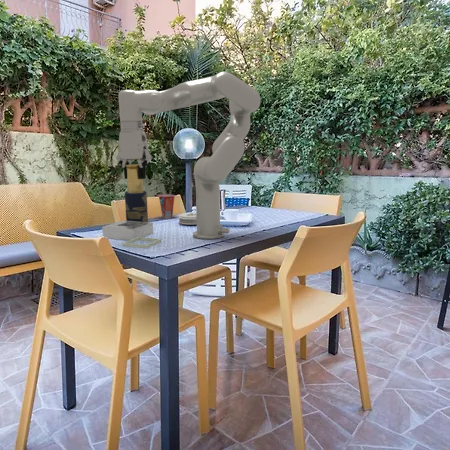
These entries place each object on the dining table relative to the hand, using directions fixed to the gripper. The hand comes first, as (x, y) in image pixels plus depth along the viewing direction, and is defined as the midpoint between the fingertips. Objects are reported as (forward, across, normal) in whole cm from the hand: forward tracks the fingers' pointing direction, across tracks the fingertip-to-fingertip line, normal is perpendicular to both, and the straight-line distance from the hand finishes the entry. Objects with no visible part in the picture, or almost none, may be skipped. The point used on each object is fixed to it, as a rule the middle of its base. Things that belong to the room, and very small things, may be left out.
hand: (135, 178), depth 128 cm
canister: (+24, +17, -21) cm, 36 cm away
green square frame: (+24, -4, +3) cm, 25 cm away
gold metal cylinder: (+5, 0, 0) cm, 5 cm away
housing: (+24, +10, -6) cm, 27 cm away
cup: (+25, +19, -49) cm, 58 cm away
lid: (+25, 0, -41) cm, 48 cm away
